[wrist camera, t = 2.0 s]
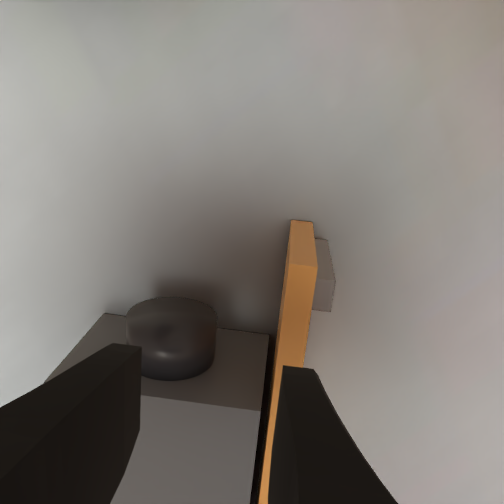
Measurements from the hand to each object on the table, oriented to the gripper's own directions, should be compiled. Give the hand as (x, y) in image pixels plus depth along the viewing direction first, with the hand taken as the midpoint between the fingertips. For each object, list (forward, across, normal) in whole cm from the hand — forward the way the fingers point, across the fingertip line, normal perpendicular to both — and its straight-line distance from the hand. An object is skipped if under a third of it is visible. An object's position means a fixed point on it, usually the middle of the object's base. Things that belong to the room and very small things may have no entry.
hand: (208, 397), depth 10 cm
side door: (+9, -2, +6) cm, 11 cm away
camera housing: (+9, +2, +8) cm, 13 cm away
